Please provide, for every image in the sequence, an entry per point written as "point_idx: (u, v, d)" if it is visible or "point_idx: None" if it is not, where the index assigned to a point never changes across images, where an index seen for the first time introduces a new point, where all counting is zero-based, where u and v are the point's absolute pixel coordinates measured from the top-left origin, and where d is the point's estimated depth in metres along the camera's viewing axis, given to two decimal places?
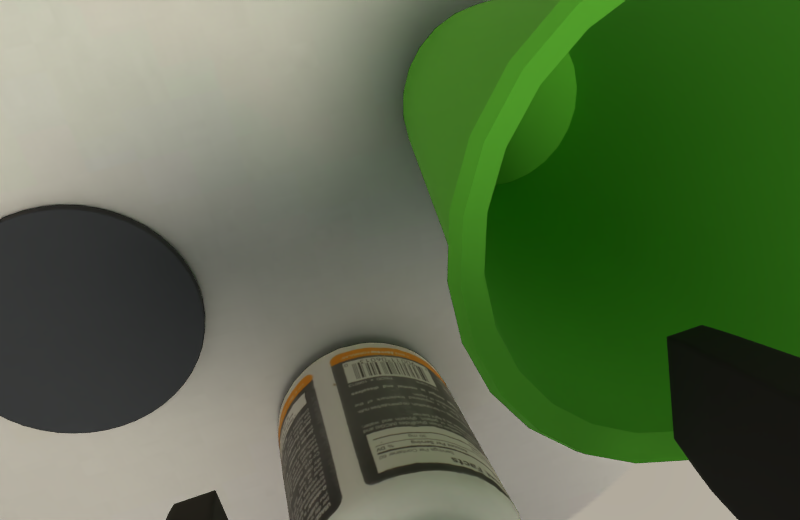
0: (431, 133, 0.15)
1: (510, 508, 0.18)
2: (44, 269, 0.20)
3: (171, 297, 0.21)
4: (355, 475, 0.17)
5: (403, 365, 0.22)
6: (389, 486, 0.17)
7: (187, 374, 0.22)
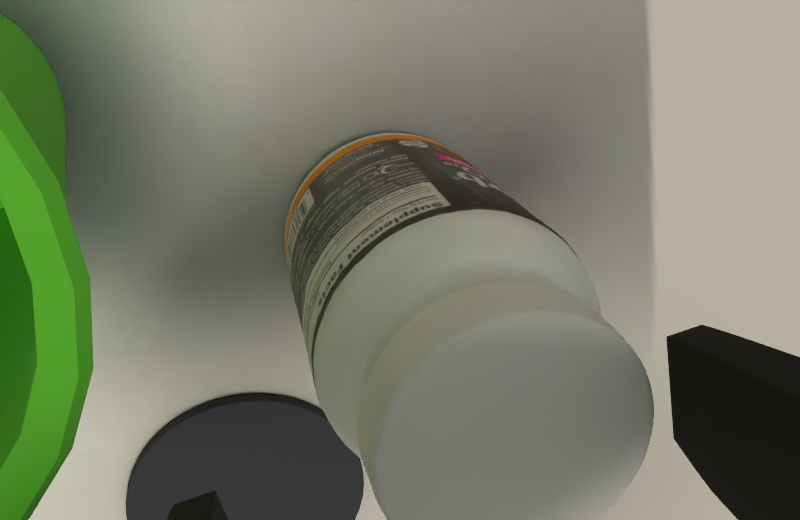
0: None
1: (383, 254, 0.13)
2: None
3: (218, 429, 0.21)
4: None
5: (292, 228, 0.18)
6: (322, 406, 0.14)
7: (308, 413, 0.21)
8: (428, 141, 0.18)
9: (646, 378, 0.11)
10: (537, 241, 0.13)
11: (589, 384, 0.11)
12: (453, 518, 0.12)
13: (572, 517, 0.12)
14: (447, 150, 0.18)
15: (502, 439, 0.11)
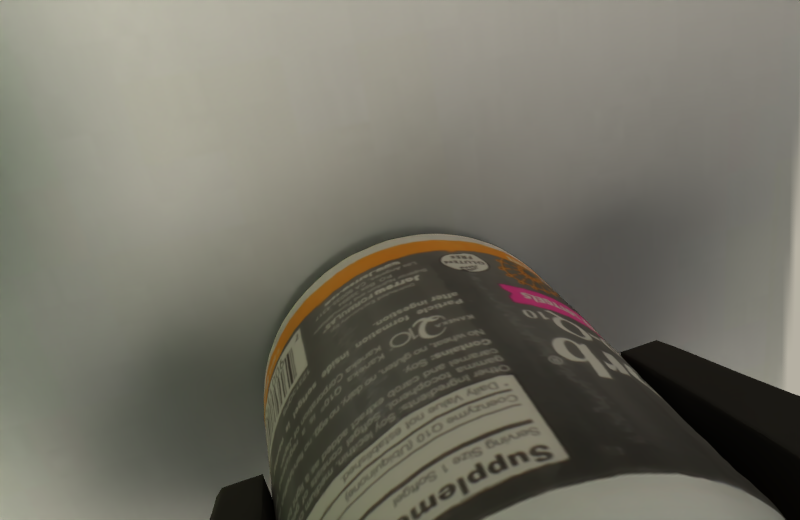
0: None
1: None
2: None
3: None
4: None
5: (273, 395, 0.11)
6: None
7: None
8: (484, 252, 0.12)
9: None
10: None
11: None
12: None
13: None
14: (515, 269, 0.11)
15: None
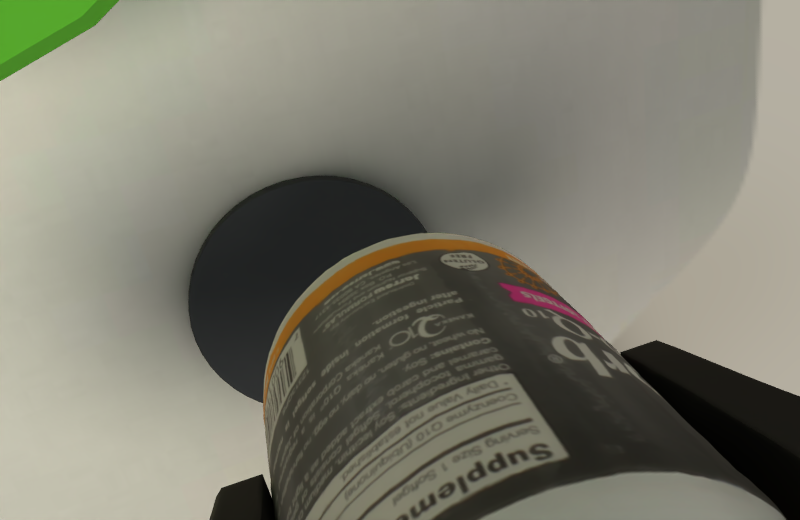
0: None
1: None
2: (253, 325, 0.20)
3: (291, 212, 0.19)
4: None
5: (273, 394, 0.11)
6: None
7: (387, 199, 0.19)
8: (484, 251, 0.12)
9: None
10: None
11: None
12: None
13: None
14: (515, 268, 0.11)
15: None
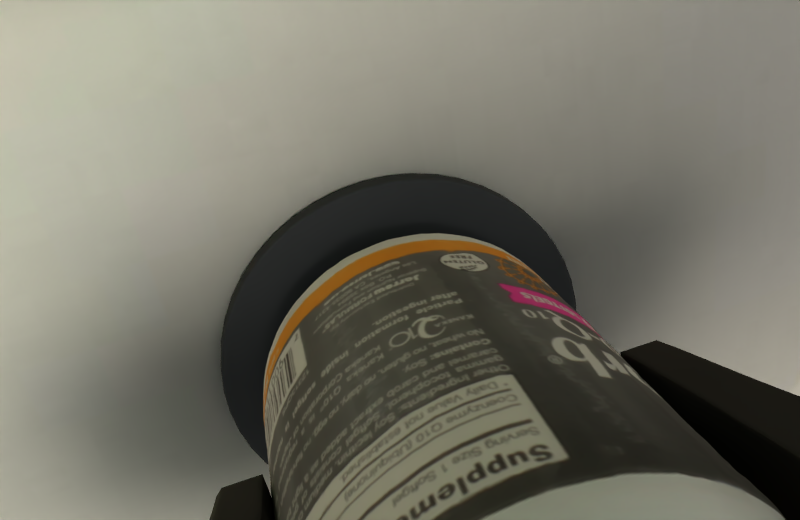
0: None
1: None
2: None
3: (373, 227, 0.13)
4: None
5: (273, 394, 0.11)
6: None
7: (510, 208, 0.13)
8: (484, 251, 0.12)
9: None
10: None
11: None
12: None
13: None
14: (515, 268, 0.11)
15: None
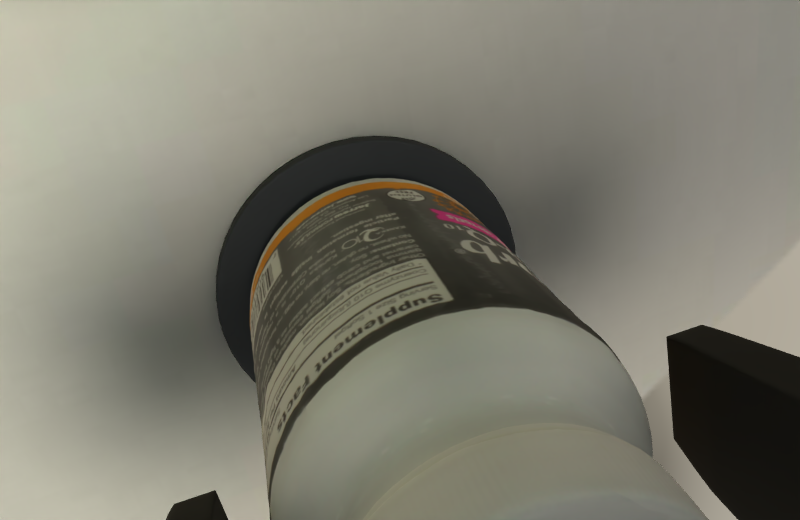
0: None
1: (361, 374, 0.09)
2: None
3: (342, 180, 0.16)
4: None
5: (256, 300, 0.14)
6: None
7: (456, 165, 0.16)
8: (424, 190, 0.15)
9: None
10: (572, 353, 0.09)
11: None
12: None
13: None
14: (447, 202, 0.15)
15: None
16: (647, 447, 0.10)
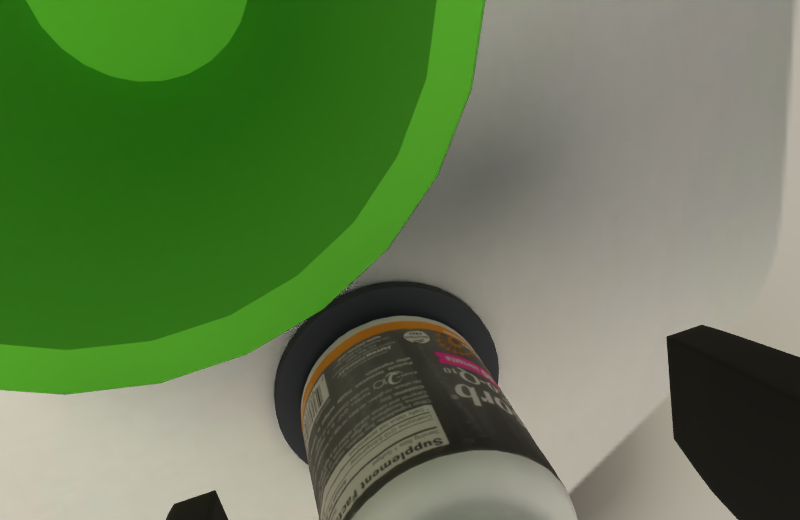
0: None
1: (392, 495, 0.15)
2: None
3: (369, 316, 0.21)
4: None
5: (308, 411, 0.20)
6: None
7: (453, 302, 0.22)
8: (429, 328, 0.20)
9: None
10: (523, 481, 0.15)
11: None
12: None
13: None
14: (446, 339, 0.20)
15: None
16: None
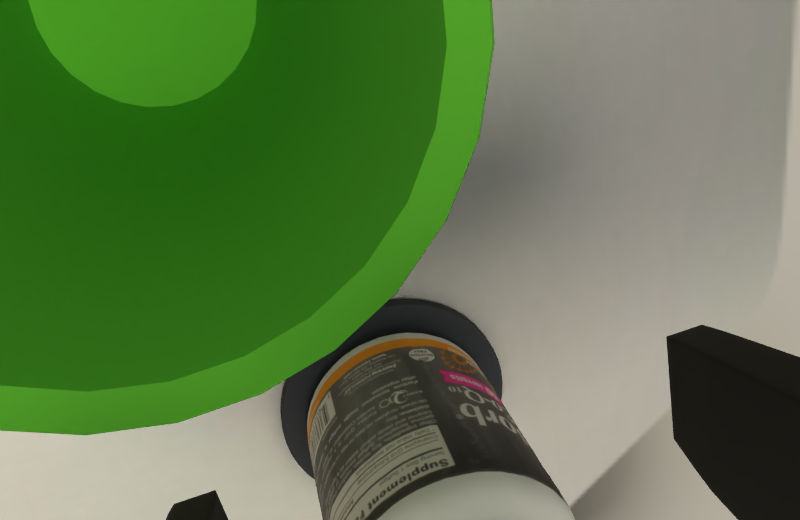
0: None
1: (399, 517, 0.15)
2: None
3: (374, 332, 0.22)
4: None
5: (315, 428, 0.20)
6: None
7: (457, 318, 0.22)
8: (434, 346, 0.21)
9: None
10: (528, 502, 0.15)
11: None
12: None
13: None
14: (451, 357, 0.20)
15: None
16: None
